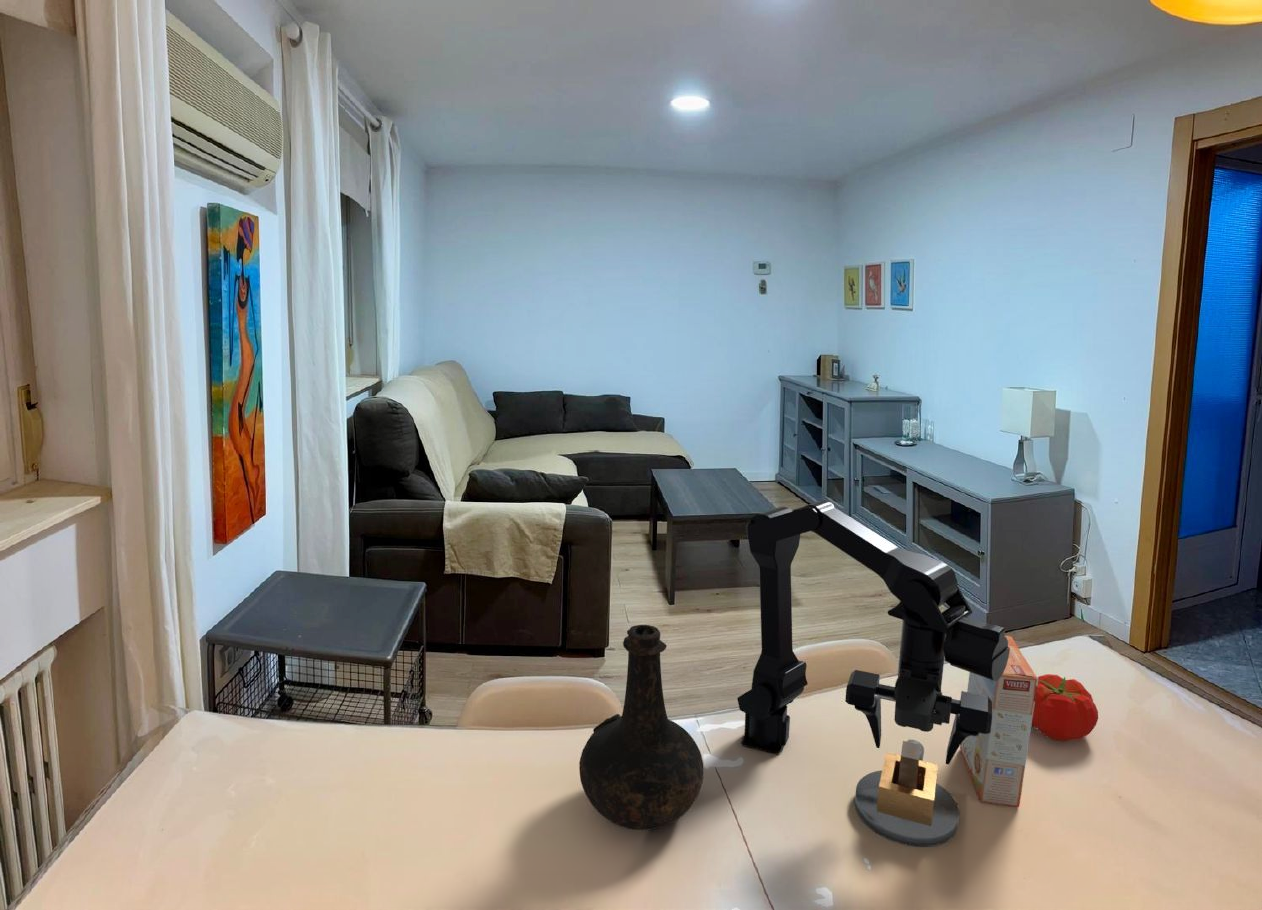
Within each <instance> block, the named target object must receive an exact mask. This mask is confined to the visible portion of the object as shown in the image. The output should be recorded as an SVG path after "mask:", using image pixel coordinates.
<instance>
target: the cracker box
mask: <svg viewBox="0 0 1262 910" xmlns="http://www.w3.org/2000/svg"><path fill="white" fill-rule="evenodd" d="M1004 637H1006V638H1007V640H1008V647H1009V648H1010V652H1009V658H1008V662H1007V665H1006V668H1005V670H1004V672H1003V674H1002V676H1001V677H1000V679H999V680H997V681H994V680H991V679H988V678H985V677H982V676H980V675H977V674H974V673H971V672H968V673H969V674H968V683H967V688H966V689H967V690H966V692H969V693H974V694H979V695H984V696H988V697H989V698H990V700H991V701H992V723H991V732H990V733H988V734H983V733H979V735H978V736H968V737H966V738H965V739H964V741H963V742H962V743H961V744H960V746H959V749H960V752H961V755H962V758H963V760H964V763H965V766H966V768H967V771H968V774H969V776H970V779H971V783H972V784H973V788H974V791H975V793H976V795H977V796H976V797H977V798H978V800H979V802H980V803H987V804H995V805H1000V806H1001V805H1002V806H1008V807H1014V808H1015V807H1016V808H1020V805H1021V798H1022V793H1023V786H1024V785H1023V784H1024V778H1025V777H1024V776H1025V770H1026V765H1027V764H1026V763H1027V756H1028V750H1029V744H1030V737H1031V732H1032V731H1031V730H1032V725H1031V724H1032V717H1033V711H1034V704H1035V698H1036V691H1037V684H1038V678H1037V677H1038V676H1037V674H1036V673H1035V671H1034V669H1033V668H1032V667H1031V666H1030V664H1029V662H1028V661H1027V659H1026V658H1025V656H1024V655H1023V653H1022V651H1021V650H1020V649H1019V646H1018V645H1017V643H1016V642H1015V640H1014V639H1013V637H1012V636H1009V635H1005V636H1004Z"/></svg>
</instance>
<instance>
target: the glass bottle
mask: <svg viewBox="0 0 1262 910" xmlns="http://www.w3.org/2000/svg"><path fill="white" fill-rule="evenodd" d="M626 633H627V636H625V637H624V638H623V642H622V646H623V648H624V649H625V650H626V651H627V653H628V656H627V675H626V684H625V692H624V693H625V696H624V702H623V709H622V713H621V715H620V714H619V713H616V714H614V715H611V717H608V718H606V719H605V720H603V722H600V723H599V724H598V725H597V726H595V727H594V728H593V730H592V731H593V733H592V734H591V735H590V737H589V738H588V740H587V741H586V743H585V745H584V746H583V749H582V752H581V754H580V758H579V761H578V763H579V765H578V766H579V769H578V770H579V777H580V783H581V786H582V789H583V791H584V794H585V796H586V797H587V800H588V801H589V802H590V804H591V805H592V807H593V808H594V809H595V811H597V812H598V813H599V814H600V815H601V816H602V817H604V818H605V819H606V820H608V821H609V822H611V823H613V824H614V825H616V826H618V827H622V828H624V829H628V830H633V831H650V830H655V829H659V828H663V827H665V826H668V825H671V824H672V823H674V822H676V821H678V819H679V820H680V818H681V817H683V816H684V815H685V814H686V813H687V812H688V811H689V810H690V808H691V807H693V805H694V803H695V802H696V800H697V798H698V796H699V794H700V793H701V790H702V786H703V782H704V772H705V771H704V760H703V757H702V754H701V753H702V752H701V750H700V748H699V747H698V744H697V743H696V741H695V738H693V737H692V736H691V734H690V733H689V732H688V731H687V730H686V729H685V728H683V727H682V725H680V724H678V723H677V722H675V721H673V720H671V719H669V718H668V715H667V710H666V706H665V705H666V704H665V699H664V693H663V692H664V689H663V682H662V679H663V678H662V666H661V663H662V662H661V653H662V652H664V651H665V650H666V649H667V646H668V645H667V644H666V643H664V641H662V640H661V631H660V630H659V629H658V627H656V626H653V625H650V624H636V625H633V626H631V627H630V628H629V629H628V630H627V631H626Z"/></svg>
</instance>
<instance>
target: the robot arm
mask: <svg viewBox="0 0 1262 910" xmlns="http://www.w3.org/2000/svg"><path fill="white" fill-rule="evenodd" d="M808 532H812V533H814V534H816V535H817V536H819V537H820V538H822V539H823V540H825V541H827V542H828V543H829V544H831V545H833V546H834V547H835V548H837V549H839V550H840V551H842V552H843V553H845V554H846V555H847V556H849V557H850V558H853V559H854V561H855V560H856V561H857V562H858V563H860V564H861V565H863V566H864V567H866V568H867V569H869V570H871V571H872V572H873V573H875V574H876V575H877V576H879V578H881V580H883V582H884V584H885V585H886V587H887V588H888V590H889V591H890V594H892V595H893V596H894V597H895V598H896V599H898V600H899V603H897V605H896V606H894V607H893V608H890V609H888V610H887V615H888V616H890V617H893V618H896V619H899V620H902V624H901V625H902V626H901V636H900V645H899V646H900V647H899V648H900V649H899V657H898V658H899V659H898V668H897V678H896V680H895V683H894V686H892V685H887V684H882V683H880V677H881V675H880V674H878V673H874V672H869V671H864V670H859V669H854V670H853V671H852V672H850V676H849V678H848V681H847V685H846V689H845V700H844V701H845V702H846V703H847V704H848V705H850V706H854V708H855V710H856V711H859V712H861V713H862V714H864V716H865V717H866V719H867V722H868V724H869V726H870V730H871V734H872V737H873V739H874V744H875V748H877V749H880V747H881V740H882V706H881V705H882V700H886V701H891V702H894V703H895V706H894V718H893V720H894V722H895V724H896V725H897V726H899V727H902V728H906V727H907V728H912V729H915V730H916V729H917V730H919V731H921V732H924V733H929V732H931V731H932V730H933V729H934V725H937V726H942V724H947V725H948V724H949V725H950V721H951V715H954V719H953V723H952V728H951V731H950V736H949V740H948V742H947V743H948V745H947V746H946V754H945V765H950V763H951V762H952V760H953V758H954V756H955V755H956V753H957V751H958V749H960V744H961V743H962V742H963V741H964V739H965V738H966V737H968V736H978V735H979V733H983V734H988V733H990V732H991V723H992V701H991V700H990V698H989V697H988V696H984V695H979V694H974V693H969V692H967V691H964V690H961V691H960V692H961V693H960V698H959V699H955V698H953V697H952V696H949V695H943V692H942V683H943V673H944V666H945V663H948V664H950V666H952V667H954V668H957V669H959V670H963V671H966V672H968V673H970V672H971V673H974V674H977V675H980V676H982V677H985V678H988V679H991V680H994V681H997V680H999V679H1000V677H1001V676H1002V674H1003V672H1004V670H1005V668H1006V665H1007V662H1008V658H1009V652H1010V648H1009V647H1008V640H1007V638H1006V637H1004V636H1006V635H1005V634H1006V629H1005V627H1002V626H999V625H996V624H989V623H984V622H981V621H979V620H975V619H972V618H968V617H970V616H971V615H972V614H973V610H972V608H971V607H970V605H969V603H968V601H967V600H966V598H965V596H964V595H963V592H962V591H961V589H960V587H959V586H958V579H957V577H956V572H955V570H954V569H953V568H952V567H951V566H949V565H948V564H947V563H945V562H942V561H941V560H937V559H935V558H933V557H930V556H928V555H926V554H923V553H918V552H915V551H909V550H906V549H903V548H900V547H899V546H896V544H894V543H892V542H891V541H889V540H888V539H885V538H884V537H882V536H881V535H879V534H878V533H876V532H875V531H873V530H871V529H870V528H868V527H867V526H865V525H864V524H862V523H860V522H859V521H857V520H855V519H854V518H852V517H850V516H849V515H848V514H846V513H844V512H843V511H841V510H839V509H838V508H836V506H835V505H834V504H833V503H832V502H831V501H827V500H818V501H815V502H812V503H809V504H807V505H804V506H802V507H799V508H795V509H791V508H790V507H787V506H778V507H775V508H772V509H769V510H765V511H762V512H760V513H757V514H755V515H753V516H752V517H751V518H750V520H748V521H747V524H746V536H747V541H748V547H749V548H748V549H749V551H750V554H751V555H752V557H753V558H754V560H755V561H756V564H757V565H758V568H759V569H758V572H759V575H758V576H759V595H760V596H759V601H760V602H759V604H760V611H759V612H760V637H761V638H760V641H761V642H760V643H761V652H760V653H759V654H760V655H759V657H758V659H757V661H756V664H755V666H754V668H753V671H752V673H753V674H752V681H751V689H749V690H748V691H746V692H745V693H743V694H741V695H740V696H738V697H737V699H736V700H737V703H738V707H739V708H738V709H739V711H741V712H742V713H745V714H744V731H743V732H744V735H743V737H742V739H741V741H740V745H742V746H744V747H749V748H751V749H752V748H753V749H757V750H760V751H764V752H768V753H771V754H775V755H776V754H777V755H780V754H781V753H782V750H783V747H785V746H786V745H787V743H788V741H789V738H790V724H791V723H790V722H791V717H790V715H788V705H789V704H791V703H794V700H795V699H796V698H798V697H799V696H801V694H803V693H804V690H805V687H806V686H807V685H808V681H807V674H806V673H807V672H806V671H807V663H806V662H807V661H803V660H802V661H801V660H799V659H798V657H797V655H796V654H795V652H794V650H793V649H794V648H793V617H792V616H793V614H792V613H793V611H792V607H793V606H792V603H793V602H792V563H793V561H794V558H795V555H796V553H797V551H798V550H799V546H800V540H801V534H805V533H808ZM944 604H946V605H947V606H949V607H948V608H947V609H945V610H944V611H941V609H940V607H941V606H943V605H944Z"/></svg>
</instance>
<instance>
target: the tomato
mask: <svg viewBox="0 0 1262 910" xmlns="http://www.w3.org/2000/svg"><path fill="white" fill-rule="evenodd" d="M1037 678H1038V684H1037V691H1036V698H1035V704H1034V711H1033V717H1032V724H1031V727H1033V728H1036V729H1038V731H1039V732H1040V733H1041V734H1042V735H1043V736H1045V737H1047V738H1048V739H1051V740H1053V741H1058V742H1067V741H1068V742H1069V741H1077V740H1080V739H1083V738H1085V737H1086V736H1088V735H1090V733H1092V731H1093V730H1094V728H1095V727H1096V726H1097V724H1098V720H1099V711H1098V708H1097V705H1096V704H1095V702H1094V699H1093V697H1092V694H1091V693H1090V692H1089V691H1088V690H1087V688H1086V687H1085V686H1084V685H1083V683H1081V682H1080V681H1078V680H1076V679H1074V678H1072V679H1066V676H1064V677H1061V676H1059V675H1058V674H1043V675H1039V676H1037Z"/></svg>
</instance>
